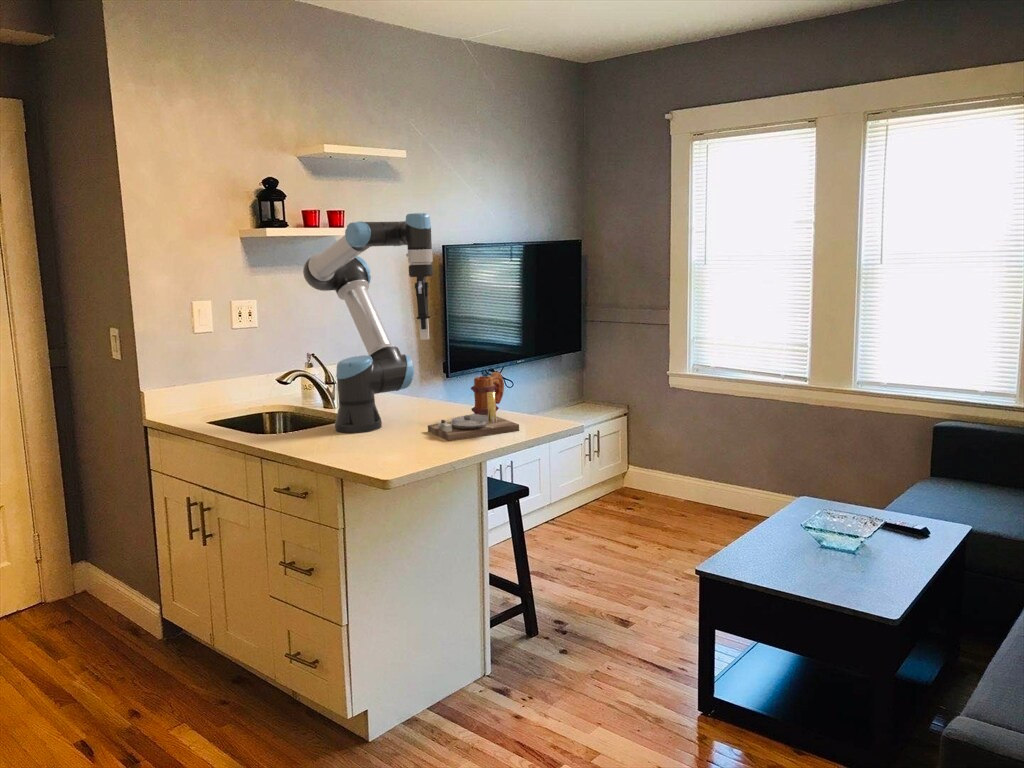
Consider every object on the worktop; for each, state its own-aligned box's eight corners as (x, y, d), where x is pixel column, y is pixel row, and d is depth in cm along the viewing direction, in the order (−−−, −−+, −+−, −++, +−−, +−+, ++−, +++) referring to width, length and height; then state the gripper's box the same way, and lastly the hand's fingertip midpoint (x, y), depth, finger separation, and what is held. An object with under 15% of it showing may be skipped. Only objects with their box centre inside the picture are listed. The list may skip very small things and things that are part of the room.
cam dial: (444, 427, 258) (442, 392, 257) (465, 420, 267) (464, 386, 266) (485, 431, 250) (483, 395, 248) (505, 424, 258) (504, 389, 257)
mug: (485, 422, 275) (483, 377, 273) (467, 420, 280) (465, 376, 277) (512, 414, 286) (510, 371, 284) (494, 412, 291) (492, 370, 289)
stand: (428, 431, 264) (427, 416, 264) (495, 421, 275) (494, 406, 274) (449, 441, 249) (448, 425, 248) (519, 430, 260) (519, 415, 259)
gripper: (411, 264, 264) (415, 337, 267) (405, 264, 251) (410, 342, 255) (434, 263, 264) (438, 336, 267) (430, 263, 251) (434, 341, 255)
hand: (424, 339), depth 261 cm, fingers closed
